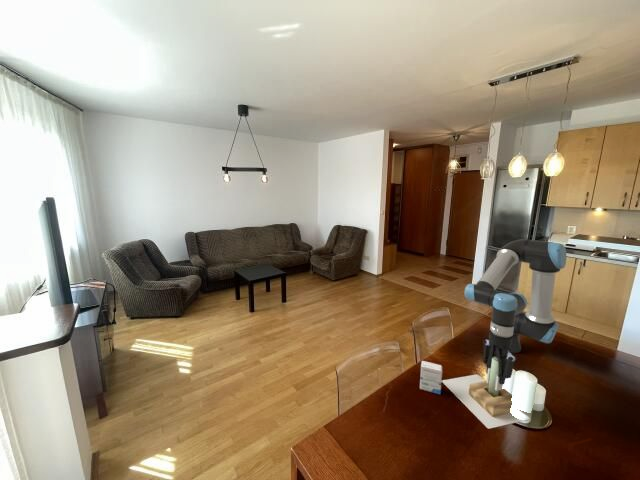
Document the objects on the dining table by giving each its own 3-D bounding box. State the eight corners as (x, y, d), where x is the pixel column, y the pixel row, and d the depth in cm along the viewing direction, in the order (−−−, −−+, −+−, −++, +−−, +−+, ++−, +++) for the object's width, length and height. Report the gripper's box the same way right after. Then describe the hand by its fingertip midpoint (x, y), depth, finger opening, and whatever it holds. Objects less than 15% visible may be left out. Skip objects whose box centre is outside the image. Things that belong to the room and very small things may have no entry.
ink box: (440, 388, 117) (442, 364, 115) (440, 396, 113) (442, 371, 111) (420, 382, 121) (421, 359, 119) (419, 389, 116) (420, 366, 114)
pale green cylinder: (485, 392, 109) (490, 355, 106) (492, 391, 110) (497, 354, 107) (492, 398, 106) (497, 361, 103) (499, 397, 106) (505, 359, 104)
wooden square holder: (468, 394, 113) (469, 384, 112) (491, 389, 116) (492, 379, 115) (492, 416, 101) (493, 405, 101) (517, 411, 104) (518, 400, 103)
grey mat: (440, 381, 121) (441, 380, 121) (477, 375, 126) (477, 374, 126) (488, 430, 96) (488, 428, 96) (531, 420, 101) (531, 418, 101)
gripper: (476, 324, 110) (470, 373, 114) (512, 345, 94) (504, 402, 98) (490, 322, 112) (484, 371, 116) (529, 343, 96) (520, 399, 100)
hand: (494, 385), depth 107 cm, fingers closed on pale green cylinder, 3 cm apart
